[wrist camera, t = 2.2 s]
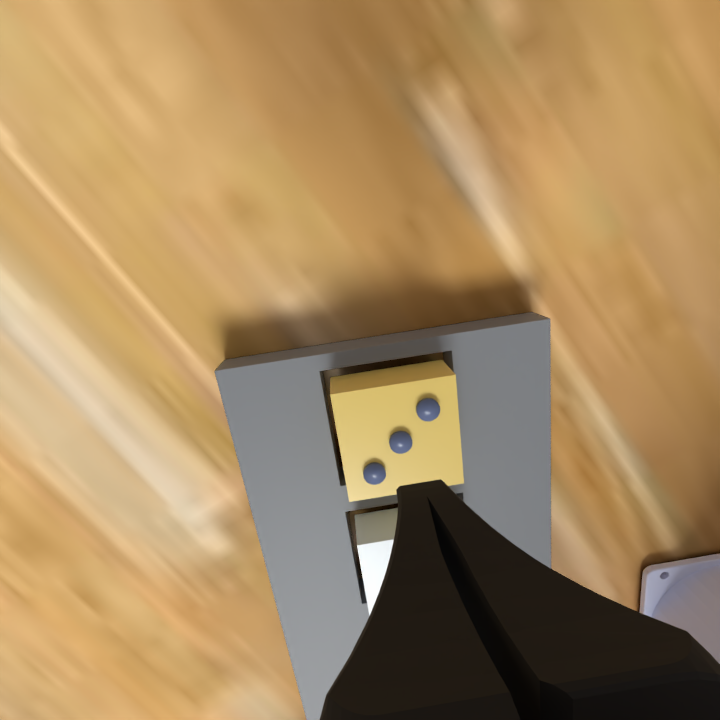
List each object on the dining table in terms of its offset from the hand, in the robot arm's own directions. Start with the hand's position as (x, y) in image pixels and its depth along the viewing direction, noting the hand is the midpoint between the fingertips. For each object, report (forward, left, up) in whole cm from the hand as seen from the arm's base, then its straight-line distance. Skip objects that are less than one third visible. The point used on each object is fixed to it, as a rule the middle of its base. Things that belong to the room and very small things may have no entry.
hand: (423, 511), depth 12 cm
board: (0, +7, -8) cm, 10 cm away
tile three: (0, 0, -6) cm, 6 cm away
